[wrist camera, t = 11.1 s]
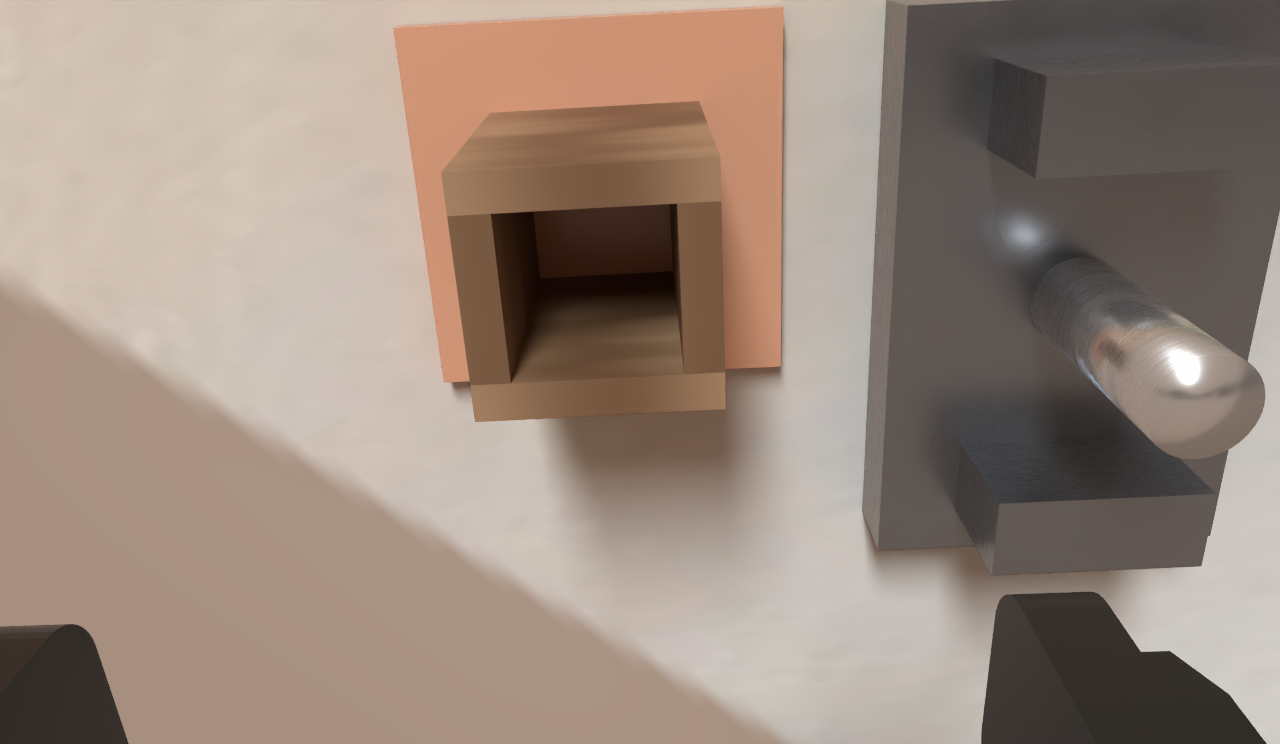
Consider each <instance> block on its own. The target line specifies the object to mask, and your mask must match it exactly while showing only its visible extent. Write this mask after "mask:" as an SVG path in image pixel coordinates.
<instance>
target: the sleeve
mask: <svg viewBox="0 0 1280 744" xmlns="http://www.w3.org/2000/svg"><path fill="white" fill-rule="evenodd" d="M441 176H442V183H443V190H444V198H445V205H446V212H447V220H448V227H449V234H450V242H451V249H452V256H453V264H454V271H455V278H456V286H457V293H458V300H459V307H460V315H461V322H462V329H463V337H464V344H465V351H466V359H467V366H468V373H469V381H470V388H471V395H472V403H473V410H474V417H475V422H486V421H505V420H525V419H544V418H564V417H583V416H603V415H622V414H641V413H661V412H680V411H700V410H719V409H726V387H725V343H724V299H723V254H722V210H721V166H720V155H719V152H718V150H717V147H716V144H715V142H714V139H713V136H712V134H711V131H710V129H709V126H708V123H707V121H706V118H705V115H704V113H703V110H702V108H701V105H700V102H699V101H689V102H671V103H654V104H636V105H619V106H601V107H584V108H566V109H549V110H531V111H514V112H496V113H489V114H488V116H487V117H486V118H485V119H484V121H483V122H482V123H481V124H480V126H479V127H478V128H477V129H476V130H475V132H474V133H473V134H472V135H471V137H470V138H469V139H468V140H467V141H466V143H465V144H464V145H463V146H462V148H461V149H460V150H459V151H458V152H457V154H456V155H455V156H454V157H453V159H452V160H451V161H450V162H449V164H448V165H447V166H446V167H445V168H444V170H443V171H442V172H441ZM660 204H670V219H671V242H672V265H673V271H666V272H648V273H629V274H611V275H592V276H574V277H555V278H540V273H539V263H538V253H537V243H536V233H535V223H534V214H533V211H551V210H569V209H587V208H605V207H623V206H641V205H660Z"/></svg>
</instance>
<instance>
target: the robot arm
mask: <svg viewBox="0 0 1280 744" xmlns="http://www.w3.org/2000/svg"><path fill="white" fill-rule="evenodd" d="M0 744H128V741H127V738H126V735H125V732H124V729H123V726H122V723H121V720H120V717H119V714H118V711H117V708H116V705H115V702H114V699H113V696H112V693H111V690H110V687H109V684H108V681H107V678H106V675H105V672H104V669H103V666H102V663H101V660H100V657H99V654H98V652H97V648H96V646H95V643H94V641H93V639H92V637H91V636H90V634H89V633H88V632H87V631H86V630H85V629H84V628H82V627H81V626H79V625H74V624H65V625H39V626H37V625H36V626H8V627H0ZM981 744H1266V742H1265V741H1264V740H1263V738H1262V737H1261V736H1260V735H1259V733H1258V732H1257V731H1256V729H1255V728H1254V727H1253V725H1252V724H1251V723H1250V721H1249V720H1248V719H1247V717H1246V716H1245V715H1244V714H1243V712H1242V711H1241V710H1240V708H1239V707H1238V706H1237V704H1236V703H1235V702H1234V700H1233V699H1232V698H1231V696H1230V695H1229V694H1228V693H1226V692H1225V691H1224V690H1222V689H1221V688H1219V687H1218V686H1217V685H1215V684H1214V683H1213V682H1211V681H1210V680H1209V679H1207V678H1206V677H1204V676H1203V675H1202V674H1200V673H1199V672H1198V671H1196V670H1195V669H1194V668H1192V667H1191V666H1189V665H1188V664H1187V663H1185V662H1184V661H1183V660H1181V659H1180V658H1179V657H1177V656H1176V655H1174V654H1173V653H1172V652H1170V651H1161V652H1140V650H1139V649H1138V647H1137V646H1136V644H1135V643H1134V641H1133V640H1132V639H1131V637H1130V636H1129V634H1128V633H1127V631H1126V630H1125V628H1124V627H1123V625H1122V624H1121V622H1120V621H1119V620H1118V618H1117V617H1116V615H1115V614H1114V612H1113V611H1112V609H1111V608H1110V606H1109V605H1108V604H1107V602H1106V601H1105V600H1104V599H1103V598H1102V597H1101V596H1100V595H1099V594H1097V593H1095V592H1071V593H1042V594H1013V595H1005V596H1003V597H1002V598H1001V599H1000V601H999V604H998V606H997V610H996V615H995V622H994V631H993V639H992V648H991V656H990V664H989V673H988V681H987V690H986V698H985V706H984V715H983V723H982V736H981Z"/></svg>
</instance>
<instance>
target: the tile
mask: <svg viewBox="0 0 1280 744" xmlns="http://www.w3.org/2000/svg"><path fill="white" fill-rule="evenodd" d="M393 29H394V36H395V43H396V50H397V57H398V64H399V71H400V78H401V85H402V92H403V99H404V106H405V113H406V120H407V127H408V134H409V141H410V148H411V155H412V162H413V169H414V176H415V183H416V190H417V197H418V204H419V211H420V218H421V225H422V232H423V239H424V246H425V253H426V260H427V267H428V274H429V281H430V288H431V295H432V302H433V309H434V316H435V323H436V330H437V337H438V344H439V351H440V358H441V366H442V373H443V380H444V382H464V381H469V373H468V366H467V359H466V351H465V344H464V337H463V329H462V322H461V315H460V307H459V300H458V293H457V286H456V278H455V271H454V264H453V256H452V249H451V242H450V234H449V227H448V220H447V212H446V205H445V198H444V190H443V183H442V176H441V172H442V171H443V170H444V168H445V167H446V166H447V165H448V164H449V162H450V161H451V160H452V159H453V157H454V156H455V155H456V154H457V152H458V151H459V150H460V149H461V148H462V146H463V145H464V144H465V143H466V141H467V140H468V139H469V138H470V137H471V135H472V134H473V133H474V132H475V130H476V129H477V128H478V127H479V126H480V124H481V123H482V122H483V121H484V119H485V118H486V117H487V116H488V114H489V113H496V112H514V111H531V110H549V109H566V108H584V107H601V106H619V105H636V104H654V103H671V102H689V101H699V102H700V105H701V108H702V110H703V113H704V115H705V118H706V121H707V123H708V126H709V129H710V131H711V134H712V136H713V139H714V142H715V144H716V147H717V150H718V152H719V155H720V166H721V210H722V254H723V299H724V343H725V369H738V368H759V367H780V366H781V249H782V119H783V7H782V6H764V7H745V8H727V9H708V10H689V11H670V12H652V13H633V14H614V15H596V16H577V17H558V18H539V19H521V20H502V21H483V22H465V23H446V24H427V25H408V26H398V27H395V28H393ZM533 214H534V223H535V233H536V243H537V253H538V263H539V273H540V278H555V277H574V276H592V275H611V274H629V273H648V272H666V271H673V265H672V242H671V219H670V204H660V205H641V206H623V207H605V208H587V209H569V210H551V211H533Z"/></svg>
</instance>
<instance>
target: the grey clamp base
mask: <svg viewBox="0 0 1280 744" xmlns="http://www.w3.org/2000/svg"><path fill="white" fill-rule="evenodd" d="M1279 211H1280V0H886V22H885V43H884V64H883V85H882V107H881V128H880V149H879V171H878V192H877V213H876V234H875V256H874V277H873V298H872V320H871V341H870V362H869V383H868V405H867V426H866V447H865V469H864V490H863V514H864V516H865V519H866V522H867V524H868V527H869V529H870V532H871V534H872V537H873V539H874V542H875V544H876V547H877V549H878V550H895V549H918V548H940V547H963V546H975V547H976V548H977V550H978V552H979V554H980V556H981V557H982V559H983V561H984V563H985V565H986V566H987V568H988V570H989V572H990V574H991V575H1013V574H1035V573H1058V572H1081V571H1104V570H1127V569H1149V568H1172V567H1195V566H1201V565H1202V560H1203V556H1204V551H1205V546H1206V542H1207V537H1208V536H1210V534H1211V529H1212V524H1213V520H1214V515H1215V510H1216V505H1217V501H1218V496H1219V491H1220V487H1221V482H1222V477H1223V473H1224V468H1225V463H1226V459H1227V454H1228V449H1230V448H1232V447H1233V446H1235V445H1236V444H1237V443H1239V442H1240V441H1241V440H1242V439H1244V438H1245V437H1246V436H1247V435H1248V434H1249V433H1250V431H1251V430H1252V429H1253V427H1254V426H1255V425H1256V423H1257V421H1258V420H1259V418H1260V416H1261V413H1262V410H1263V407H1264V402H1265V388H1264V383H1263V380H1262V378H1261V376H1260V374H1259V373H1258V371H1257V370H1256V369H1255V368H1254V367H1253V366H1252V365H1251V364H1250V363H1248V362H1247V361H1248V356H1249V351H1250V347H1251V342H1252V337H1253V333H1254V328H1255V323H1256V319H1257V314H1258V309H1259V305H1260V300H1261V295H1262V291H1263V286H1264V281H1265V277H1266V272H1267V267H1268V262H1269V258H1270V253H1271V248H1272V244H1273V239H1274V234H1275V230H1276V225H1277V220H1278V216H1279Z"/></svg>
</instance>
